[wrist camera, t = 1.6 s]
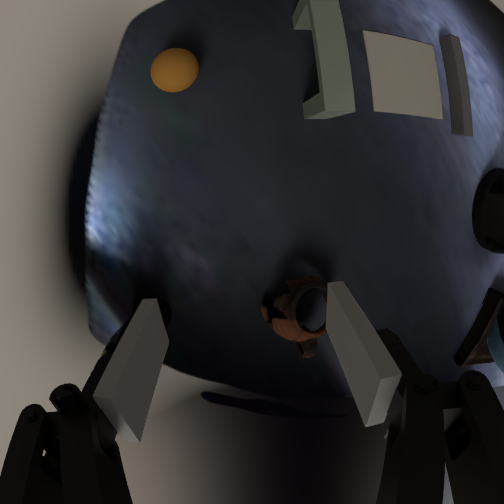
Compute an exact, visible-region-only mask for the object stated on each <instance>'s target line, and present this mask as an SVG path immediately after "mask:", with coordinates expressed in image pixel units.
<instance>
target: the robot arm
mask: <svg viewBox="0 0 504 504" xmlns="http://www.w3.org/2000/svg"><path fill="white" fill-rule="evenodd" d="M472 219H473V229H474V234H475V237H476V239H477V241H478V243H479V244H480V245H481V246H482V247H484V248H485V249H487V250H489V251H491V252H493V253H500V254H504V169H503V168H495V169H492V170H491V171H489V172H488V173H487V174H486V175H485V177H484V178H483V179H482V181H481V183H480V185H479V187H478V190H477V193H476V196H475V200H474V205H473V216H472ZM326 330H327V333H328V335H329V337H330V340H331V342H332V344H333V347H334V349H335V352H336V354H337V357H338V359H339V361H340V364H341V366H342V369H343V371H344V374H345V376H346V379H347V381H348V384H349V386H350V389H351V391H352V394H353V397H354V399H355V401H356V404H357V407H358V409H359V411H360V415H361V417H362V420H363V423H364V425H365V427H368V426H372V425H376V424H379V423H383V422H384V420H385V418H386V415H387V414H388V416H389V418H390V420H391V423H390V425H389V427H388V430H387V432H386V434H385V436H384V438H387V445H386V453H385V459H384V465H383V471H382V477H381V483H380V487H379V492H378V496H377V501H376V504H442V502H443V491H444V490H443V489H444V474H445V463H446V468H447V472H448V476H449V481H450V485H451V490H452V496H453V501H454V504H504V410H503V408H502V406H501V404H500V402H499V400H498V398H497V396H496V394H495V392H494V390H493V388H492V386H491V384H490V382H489V380H488V379H487V377H486V376H485V375H484V374H482V373H481V372H479V371H475V370H469V371H466V372H464V373H463V374H462V375H461V376H460V378H459V381H454V382H439V381H438V380H437V379H436V378H435V377H434V376H432V375H430V374H425V373H422V371H421V370H420V368H419V367H418V365H417V364H416V362H415V361H414V359H413V358H412V356H411V355H410V353H409V352H408V351H407V350H406V348H405V346H404V345H403V344H402V342H401V340H400V339H399V338H398V336H397V335H396V334H395V333H393V332H392V331H390V330H389V329H387V328H386V329H381V330H376V331H375V329H374V328H373V326H372V325H371V323H370V322H369V320H368V318H367V317H366V315H365V314H364V312H363V311H362V309H361V308H360V306H359V305H358V303H357V302H356V300H355V299H354V297H353V296H352V294H351V293H350V291H349V290H348V288H347V287H346V285H345V284H344V282H343V281H338V282H330V283H328V290H327V314H326ZM487 343H488V348H489V351H490V354H491V356H492V358H493V359H494V361H495V363H496V364H497V365H498V367H499V368H500V369H501V371H502V372H503V373H504V302H503V304H502V306H501V308H500V310H499V311H498V312H497V314H496V317H495V320H494V322H493V324H492V326H491V328H490V330H489V332H488V336H487ZM168 344H169V340H168V336H167V333H166V330H165V326H164V323H163V319H162V316H161V312H160V309H159V305H158V302H157V298H155V299H143V300H142V301H141V303H140V305H139V307H138V309H137V310H136V312H135V314H134V316H133V318H132V319H131V321H130V323H129V325H128V327H127V329H126V330H125V332H124V334H123V336H122V338H121V340H120V342H119V344H118V346H117V348H116V349H115V351H114V353H105V354H104V355H103V356H102V357H101V358H100V359H99V360H98V361H97V363H96V365H95V367H94V370H93V371H92V373H91V376H90V377H89V378H88V380H87V382H86V384H85V386H84V388H83V390H82V392H81V391H80V390H79V388H78V387H77V386H76V385H74V384H70V383H69V384H63V385H60V386H58V387H57V388H55V389H54V390H53V391H52V393H51V395H50V398H49V400H50V401H51V402H52V404H53V405H54V407H55V408H56V409H57V411H56V412H46V411H45V410H44V408H43V407H42V406H41V405H38V404H31V405H29V406H27V407H25V408H24V409H23V410H22V412H21V414H20V416H19V419H18V421H17V424H16V427H15V430H14V433H13V435H12V439H11V441H10V444H9V448H8V451H7V454H6V458H5V461H4V464H3V468H2V472H1V476H0V504H133V503H132V499H131V496H130V492H129V489H128V485H127V481H126V477H125V473H124V469H123V465H122V461H121V456H120V451H119V447H118V444H117V443H116V441H115V437H116V434H117V433H118V435H119V436H120V437H121V439H122V440H124V441H130V442H139V443H140V441H141V437H142V433H143V430H144V426H145V422H146V418H147V415H148V411H149V408H150V404H151V401H152V397H153V393H154V390H155V386H156V383H157V380H158V376H159V373H160V370H161V367H162V363H163V360H164V357H165V354H166V350H167V347H168ZM387 436H388V437H387ZM43 450H45V451H46V454H45V456H42V454H43Z"/></svg>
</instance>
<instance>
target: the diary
mask: <svg viewBox="0 0 504 504" xmlns="http://www.w3.org/2000/svg"><path fill="white" fill-rule="evenodd" d="M503 302H504V294H501V293H499V292H498V291H496V290H494V289H492V288H489V289H488V291H487V293H486V296H485V298H484V300H483V302H482V303H484V305H483V307H482V309H481V311H480V313H479V315H478V317H477V319H476V321H475V323H474V325H473V327H472V329H471V331H470V333H469V334H468V336H467V338H466V340H465V342H464V343H463V345H462V346H463V349H460V350H459V353H460V355H457V356H453V359H454V362H455V363H456V364H457V365H459V366H468V365H474V364H481V363H491V362H495V361H494V359H493V358H492V356H491V354H490V351H489V348H488V343H487V336H488V332H489V330H490V328H491V326H492V324H493V322H494V320H495V317H496V314H497V312H498V311H499V310H500V308H501V306H502V304H503Z"/></svg>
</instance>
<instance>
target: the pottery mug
mask: <svg viewBox="0 0 504 504" xmlns="http://www.w3.org/2000/svg"><path fill="white" fill-rule="evenodd" d="M286 283H287V284H288V286H289V289H290V291H291V293H290V294H288V293H286V294H283V295H282V296H280V297H278V298H276V299H275V301H274V303H273V306H275V307H277V308H279V310H280V311H281V312H282V313H283V314H284V315H285V316H286V317H287V318H277V317H274V318H272V322H271V321H270V320H269V317H268V312H267V307H266V306H264V305H263V304H261V312H262V315H263V317H264V319H265V320H266V323H267V324H268V325H269V326H270V328H272V329H273V330H274V331H275V332H276V333H277V334H278V335H280V336H282V337H283V338H285V339H288V340H291V341H292V340H294V342H295V345H296V348H297V350H298V352H299V354H300V355H301V356H302V357H304V358H310V357H311V356H313V355H315V353H316V351H317V338H318V337H319V336H321V335H323V334H324V333H326V332H327V330H326V321H325V323H324V324H323V325H322V327H320V328H319V329H318V330H316V331H310V330H309V329H307V328H306V327H305V326H300V325H299V324H298V321H297V319H296V305H297V302H298V300H299V298H300V296H301V295H302V294H303V293H304V292H305V291H307V290H308V289H311V288H318V289H321V290H322V291H323V296H324V299H325V301H326V302H327V290H328V286H327V285H326V284H324V283H323V282H322V281H321V280H319V279H318V278H315V277H312V276H311V277H307V276H306V277H302V278H300V279H296V280H288V281H286Z"/></svg>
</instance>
